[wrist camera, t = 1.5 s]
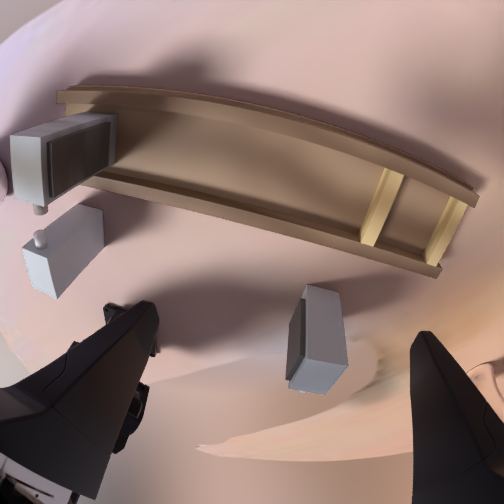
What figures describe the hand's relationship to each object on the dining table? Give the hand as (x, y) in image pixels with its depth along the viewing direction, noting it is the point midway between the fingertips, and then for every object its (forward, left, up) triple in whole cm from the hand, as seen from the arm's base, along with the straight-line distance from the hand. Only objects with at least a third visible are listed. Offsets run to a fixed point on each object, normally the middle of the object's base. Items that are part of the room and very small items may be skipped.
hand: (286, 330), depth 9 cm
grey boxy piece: (-10, -5, -14) cm, 18 cm away
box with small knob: (-8, +17, -14) cm, 23 cm away
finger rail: (+1, +3, -14) cm, 14 cm away
